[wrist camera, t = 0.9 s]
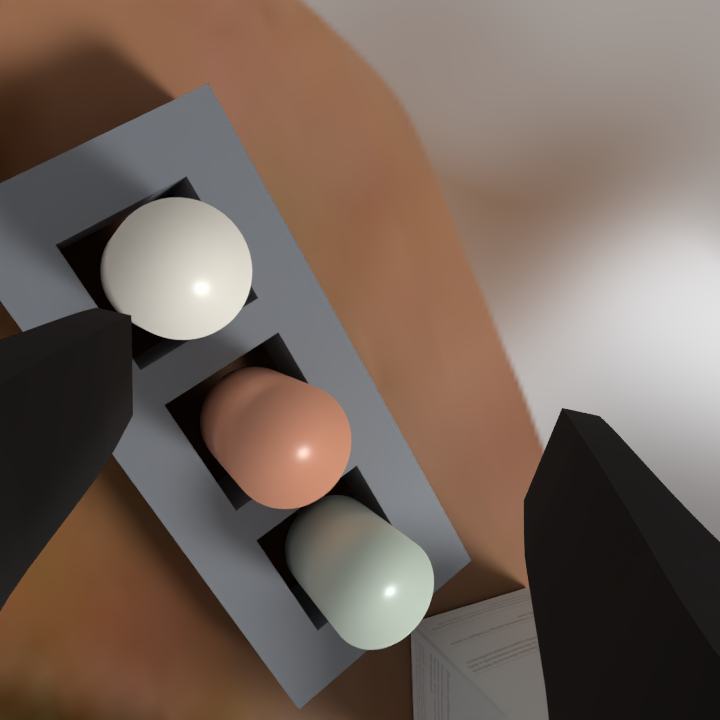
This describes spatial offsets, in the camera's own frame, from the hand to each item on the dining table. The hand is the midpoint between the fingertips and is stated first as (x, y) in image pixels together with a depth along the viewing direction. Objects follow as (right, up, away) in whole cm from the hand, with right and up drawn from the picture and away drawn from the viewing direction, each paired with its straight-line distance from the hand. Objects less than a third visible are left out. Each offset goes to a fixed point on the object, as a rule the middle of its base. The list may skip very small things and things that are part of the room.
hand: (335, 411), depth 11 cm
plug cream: (-6, +4, +11) cm, 13 cm away
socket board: (-5, -1, +15) cm, 16 cm away
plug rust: (-3, -1, +13) cm, 13 cm away
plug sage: (-1, -6, +14) cm, 16 cm away
